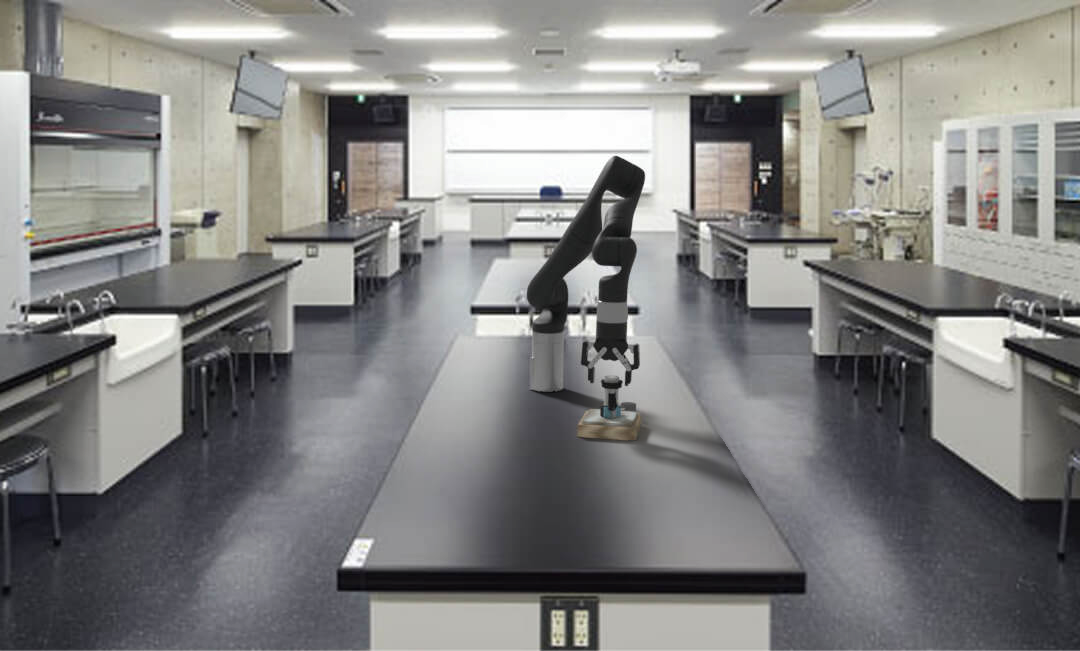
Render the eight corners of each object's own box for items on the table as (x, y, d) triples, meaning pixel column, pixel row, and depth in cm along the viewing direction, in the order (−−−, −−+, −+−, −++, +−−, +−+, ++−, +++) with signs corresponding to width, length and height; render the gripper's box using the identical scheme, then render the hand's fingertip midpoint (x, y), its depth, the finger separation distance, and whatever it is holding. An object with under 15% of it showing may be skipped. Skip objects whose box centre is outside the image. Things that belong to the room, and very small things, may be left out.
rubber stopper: (619, 420, 249) (619, 405, 248) (621, 416, 252) (621, 401, 252) (634, 421, 248) (635, 406, 247) (636, 417, 252) (637, 402, 251)
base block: (577, 436, 233) (577, 421, 232) (586, 421, 246) (586, 407, 246) (634, 440, 230) (635, 425, 229) (641, 425, 244) (641, 411, 243)
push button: (618, 412, 241) (619, 373, 240) (630, 417, 237) (631, 377, 235) (595, 415, 238) (596, 375, 237) (607, 420, 234) (608, 380, 232)
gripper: (580, 319, 231) (578, 385, 234) (639, 323, 228) (636, 389, 231) (585, 315, 238) (583, 378, 241) (642, 318, 235) (640, 382, 238)
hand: (609, 384), depth 236 cm, fingers open, 8 cm apart
